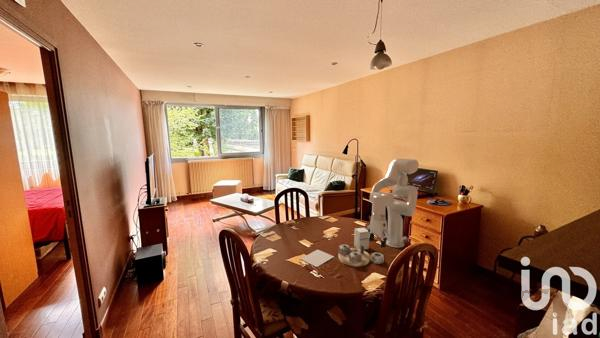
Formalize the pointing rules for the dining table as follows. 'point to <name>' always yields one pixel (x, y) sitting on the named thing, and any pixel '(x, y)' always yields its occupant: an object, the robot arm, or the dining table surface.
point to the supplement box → (361, 238)
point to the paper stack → (317, 258)
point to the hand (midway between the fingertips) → (377, 243)
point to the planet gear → (377, 258)
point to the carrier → (353, 256)
